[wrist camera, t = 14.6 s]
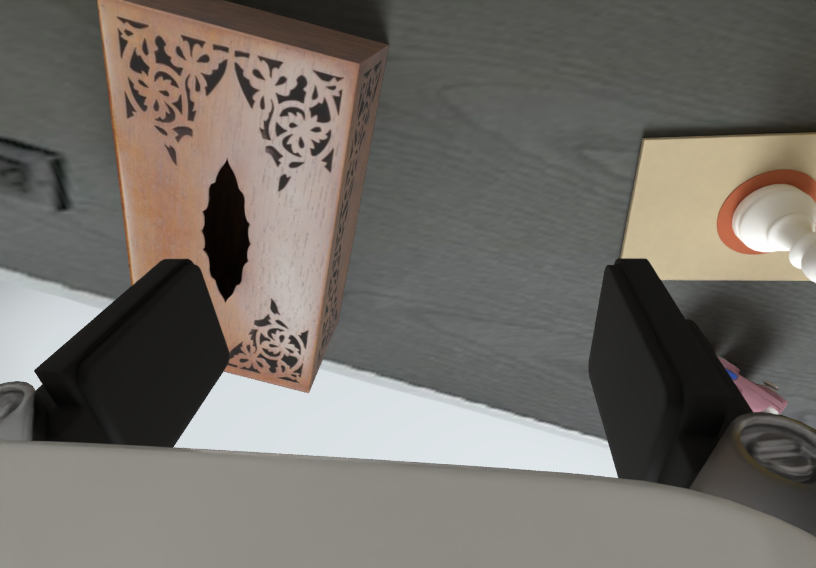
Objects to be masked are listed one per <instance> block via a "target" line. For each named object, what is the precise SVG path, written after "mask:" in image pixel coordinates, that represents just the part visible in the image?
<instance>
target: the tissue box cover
mask: <svg viewBox="0 0 816 568" xmlns="http://www.w3.org/2000/svg"><path fill="white" fill-rule="evenodd" d="M97 3H98V12H99V20H100V28H101V37H102V45H103V53H104V62H105V70H106V78H107V86H108V95H109V103H110V111H111V120H112V128H113V136H114V144H115V153H116V161H117V169H118V178H119V186H120V194H121V202H122V211H123V219H124V227H125V236H126V244H127V252H128V261H129V269H130V277H131V285H133V284H135V283H136V282H137V281H138V280H139V279H140V278H142V277H143V276H144V275H145V274H146V273H147V272H148V271H150V270H151V269H152V268H153V267H154V266H155V265H157V264H158V263H159V262H160V261H161V260H163V259H190V260H191V261H192V262H193V263H194V265H198V266H199V267H200V269H201V271H202V274H203V277H204V280H205V283H206V286H207V289H208V291H209V294H210V297H211V300H212V303H213V306H214V309H215V312H216V315H217V317H218V320H219V323H220V326H221V329H222V332H223V335H224V338H225V341H226V344H227V346H228V349H229V356H230V357H229V362H228V365H227V367H226V368H225V370H224V372H227V373H231V374H235V375H239V376H243V377H247V378H251V379H255V380H259V381H263V382H267V383H271V384H274V385H278V386H282V387H286V388H290V389H294V390H298V391H302V392H306V393H309V391H310V389H311V387H312V384H313V382H314V379H315V377H316V374H317V372H318V370H319V367H320V365H321V362H322V360H323V358H324V355H325V353H326V350H327V348H328V346H329V343H330V341H331V338H332V336H333V333H334V331H335V329H336V326H337V324H338V321H339V316H340V310H341V305H342V299H343V294H344V288H345V283H346V277H347V272H348V267H349V261H350V256H351V250H352V245H353V239H354V234H355V228H356V223H357V217H358V212H359V207H360V201H361V196H362V190H363V185H364V179H365V174H366V168H367V163H368V157H369V152H370V146H371V141H372V136H373V130H374V125H375V119H376V114H377V108H378V103H379V97H380V92H381V86H382V81H383V76H384V70H385V65H386V59H387V54H388V48H389V45H388V44H385V43H381V42H377V41H373V40H370V39H366V38H362V37H359V36H355V35H351V34H347V33H344V32H340V31H336V30H333V29H329V28H325V27H321V26H318V25H314V24H310V23H307V22H303V21H299V20H295V19H292V18H288V17H284V16H281V15H277V14H273V13H269V12H266V11H262V10H258V9H255V8H251V7H247V6H243V5H240V4H236V3H232V2H229V1H225V0H97Z"/></svg>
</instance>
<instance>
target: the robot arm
mask: <svg viewBox="0 0 816 568" xmlns="http://www.w3.org/2000/svg"><path fill="white" fill-rule="evenodd" d="M229 357H230V356H229V349H228V346H227V344H226V341H225V338H224V335H223V332H222V329H221V326H220V323H219V320H218V317H217V315H216V312H215V309H214V306H213V303H212V300H211V297H210V294H209V291H208V289H207V286H206V283H205V280H204V277H203V274H202V271H201V269H200V267H199V266H198V265H194V263H193V262H192V261H191V260H190V259H163V260H161V261H160V262H159V263H158V264H157V265H155V266H154V267H153V268H152V269H151V270H150V271H148V272H147V273H146V274H145V275H144V276H143V277H142V278H140V279H139V280H138V281H137V282H136V283H135V284H133V285H132V286H131V287H130V288H129V289H128V290H126V291H125V292H124V293H123V294H122V295H121V296H120V297H118V298H117V299H116V300H115V301H114V302H113V303H111V304H110V305H109V306H108V307H107V308H106V309H105V310H103V311H102V312H101V313H100V314H99V315H98V316H96V317H95V318H94V319H93V320H92V321H91V322H90V323H88V324H87V325H86V326H85V327H84V328H83V329H81V330H80V331H79V332H78V333H77V334H76V335H74V336H73V337H72V338H71V339H70V340H69V341H68V342H66V343H65V344H64V345H63V346H62V347H61V348H59V349H58V350H57V351H56V352H55V353H54V354H53V355H51V356H50V357H49V358H48V359H47V360H46V361H44V362H43V363H42V364H41V365H40V366H39V367H38V368H37V369H35V370H34V372H35V373H36V374H37V376H38V378H39V379H40V381H41V382H42V385H41V386H40V387H39V388H38V389H37V390H36V391H35V389H34V388H33V386H32V385H30V384H29V383H27V382H19V381H15V382H7V383H3V384H0V568H816V430H815V429H813V428H811V427H810V426H808V425H806V424H804V423H802V422H800V421H797V420H794V419H791V418H789V417H786V416H783V415H778V414H773V413H767V412H753V411H752V409H751V408H750V406H749V404H748V403H747V401H746V400H745V398H744V397H743V395H742V394H741V392H740V391H739V389H738V387H737V386H736V384H735V383H734V381H733V380H732V378H731V377H730V375H729V374H728V372H727V371H726V369H725V367H724V366H723V364H722V363H721V361H720V360H719V358H718V357H717V355H716V354H715V352H714V351H713V349H712V347H711V346H710V344H709V343H708V341H707V340H706V338H705V337H704V335H703V334H702V332H701V331H700V329H699V327H698V326H697V325H696V324H695V323H694V322H693V321H691V320H685V318H684V316H683V315H682V313H681V312H680V310H679V308H678V307H677V305H676V304H675V302H674V300H673V299H672V297H671V296H670V294H669V292H668V291H667V289H666V288H665V286H664V284H663V283H662V281H661V280H660V278H659V276H658V275H657V273H656V272H655V270H654V268H653V267H652V265H651V264H650V262H649V261H648V260H647V259H645V258H618V259H617V260H616V261H615V263H614V265H607V266H606V268H605V271H604V277H603V283H602V288H601V294H600V300H599V306H598V311H597V317H596V323H595V329H594V334H593V340H592V346H591V352H590V358H589V377H590V381H591V384H592V388H593V391H594V395H595V398H596V402H597V405H598V409H599V412H600V416H601V419H602V423H603V426H604V429H605V433H606V436H607V440H608V443H609V447H610V450H611V454H612V457H613V461H614V464H615V468H616V471H617V475H618V478H611V477H603V476H593V475H583V474H572V473H561V472H547V471H533V470H519V469H508V468H494V467H479V466H464V465H449V464H434V463H418V462H404V461H389V460H388V461H387V460H373V459H357V458H341V457H324V456H309V455H293V454H276V453H259V452H242V451H226V450H208V449H190V448H173V447H174V445H175V444H176V442H177V441H178V439H179V438H180V436H181V435H182V433H183V432H184V430H185V429H186V427H187V426H188V424H189V423H190V421H191V420H192V418H193V416H194V415H195V414H196V412H197V411H198V409H199V407H200V406H201V404H202V403H203V402H204V400H205V398H206V397H207V395H208V394H209V392H210V391H211V389H212V388H213V386H214V385H215V383H216V382H217V380H218V379H219V377H220V376H221V374H222V373H223V371H224V370H225V368H226V367H227V365H228V362H229Z"/></svg>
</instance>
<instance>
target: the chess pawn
mask: <svg viewBox="0 0 816 568" xmlns="http://www.w3.org/2000/svg"><path fill="white" fill-rule="evenodd" d="M815 222H816V203H815V201H814V200H813V199H812V197H811V196H809V195H808V194H806V193H804V192H803V191H801V190H800V189H798V188H796V187H794V186H792V185H787V184H773V185H769V186H765V187H762V188H760V189H758V190H756V191H754V192H752V193H751V194H749V195H748V196H747V197H745V198H744V199H743V200H742V202H741V203H740V204H739V205H738V207H737V208H736V210H735V212H734V214H733V218H732V228H733V231H734V233H735V235H736V236H737V237H738V238H739V239H740V240H741V241H742V242H743V243H744V244H745V245H746V246H747V247H749V248H751V249H753V250H755V251H760V252H775V251H790V252H789V260H790V263H791V264H792V265H793V266H794V267H796V268H798V269H802V271H803V273H804V274H805V276H806V277H807V278H808V279H810V280H811V281H813V282H815V283H816V232H815V226H816V225H815Z"/></svg>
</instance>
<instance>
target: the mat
mask: <svg viewBox="0 0 816 568" xmlns="http://www.w3.org/2000/svg"><path fill="white" fill-rule="evenodd" d="M773 184H787V185H792V186H794V187H796V188H798V189H800V190H801V191H803V192H804V193H806V194H808V195H809V196H811V197H812V199H813V200H814V201H815V203H816V132H805V133H776V134H747V135H719V136H690V137H661V138H643V139H642V144H641V149H640V155H639V160H638V165H637V170H636V176H635V181H634V186H633V191H632V197H631V202H630V207H629V212H628V218H627V223H626V228H625V234H624V239H623V244H622V249H621V255H620V258H645V259H647V260H648V261H649V262H650V264H651V265H652V267H653V268H654V270H655V272H656V273H657V275H658V276H659V278H660V280H779V281H811V280H810V279H808V278H807V277H806V276H805V274H804V273H803V271H802V269H798V268H796V267H794V266H793V265H792V264H791V263H790V260H789V252H790V251H775V252H760V251H755V250H753V249H751V248H749V247H747V246H746V245H745V244H744V243H743V242H742V241H741V240H740V239H739V238H738V237H737V236H736V235H735V233H734V231H733V228H732V218H733V214H734V212H735V210H736V208H737V207H738V205H739V204H740V203H741V202H742V200H743V199H744V198H745V197H747V196H748V195H749V194H751V193H752V192H754V191H756V190H758V189H760V188H762V187H765V186H769V185H773ZM815 225H816V222H815ZM815 232H816V226H815Z"/></svg>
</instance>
